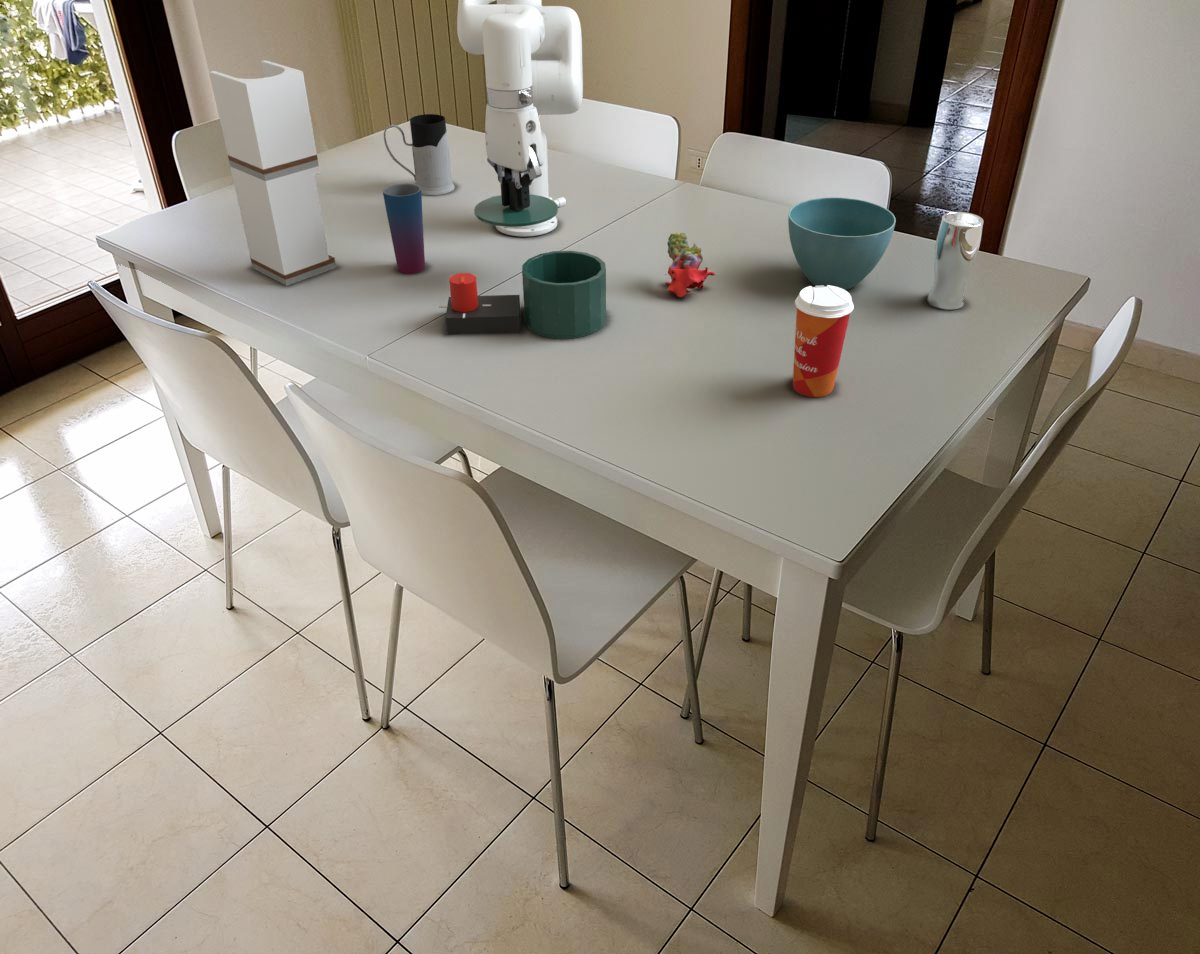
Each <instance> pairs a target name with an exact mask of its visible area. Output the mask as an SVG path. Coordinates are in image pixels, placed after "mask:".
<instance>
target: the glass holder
mask: <svg viewBox="0 0 1200 954" xmlns="http://www.w3.org/2000/svg"><path fill="white" fill-rule="evenodd" d="M409 125H410V126H409V127H410V134H411V143H407V141H406V137H405V133H404V131H403V129H402V128H401V127H400V126H398V125H396V124H390V125H388V126H386V128H385V129H384V131H383V141H384V145H385V148H386V151H387V152H388V155H389V156H390V157H391V159H392V160H393V161H394V162H395V163H396V164H397V165H398V166H400V167H401V168H402V169H404V170H405V171H406V172H408V173H409V174H410V175H411V176H412V177H413V178H414V182H415V184H416V185H419V186H420V187H421V195H422V196H423V195H424V196H440V195H446V194H449V193H451V192H453V191H454V190H455V184H454V183H453V177H452V167H451V158H450V146H449V136H448V135H449V134H448V129H447V123H446V117H445V116H444V115H441V114H434V113H425V114H424V113H423V114H419V115H414V116H412V117H411V118H410V119H409ZM390 128H396V129H397V130H398V131H399V132H400V133H401V137H402V141H403V144H404V145H405V146H408V147H411V150H412V151H411V152H412V159H413V167H414V168H413V169H414V172H413V171H411V169H409V168H408V167H406V166H405V165H404V164H403V163H401V162H400V160H398V159H397V158H395V156H394V155H393V153H392V151H391V150H390V147H389V145H388V143H387V138H386V135H387V134H386V133H387V130H388V129H390Z"/></svg>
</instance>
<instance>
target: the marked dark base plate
mask: <svg viewBox="0 0 1200 954" xmlns="http://www.w3.org/2000/svg"><path fill="white" fill-rule="evenodd" d="M438 308H439V309H440V308H441V309H443V308H446V312H445V327H446V334H447V335H467V334H468V335H470V334H471V335H472V334H473V335H474V334H501V333H502V334H503V333H506V334H507V333H520V332H521V313H522V312H521V311H522V310H521V295H520V294H498V295H497V294H496V295H495V294H494V295H493V294H492V295H478V308H477V309H475V310H473V311H469V312H458V311H455V310H454V309H453V308H452V303H451V296H448V300H447V305H439V306H438Z"/></svg>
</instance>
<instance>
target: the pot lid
mask: <svg viewBox="0 0 1200 954" xmlns="http://www.w3.org/2000/svg"><path fill="white" fill-rule="evenodd" d="M515 187H516V186H515V178H509V179H508V195H509V205H508V206H503V205H502V196H501V194H499V195H496V196H492V197H489V198H485V199H483V200H481V201H479V202H478V203H477V204H476V205H475V206H474V209H473V210H474V211H473V212H474V216H475V218H476V219H478V220H479V221H481V222H483V223H485V224H487V225H492V226H495V225H497V226H507V227H519V226H529V225H535V224H539V223H543V222H545V221H548V220H550V219H552V218H553V217H554V216H556V217H557V215H558V213H559V208H558V205H557V204H556V203H555V202H554V201H553V200H554V199H552V200H551V199H549V198H546V197H543V196H538V195H532V194H530V206H529V207H528V208H525V209H522V210H519V211H516V210H515V209H514V197H513V188H515Z"/></svg>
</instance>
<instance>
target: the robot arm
mask: <svg viewBox="0 0 1200 954" xmlns="http://www.w3.org/2000/svg"><path fill="white" fill-rule="evenodd" d="M457 1H458V2H457V17H456V18H457V19H456V30H457V31H456V33H457V39H458V42H459V44H460V46H461V48H462V50H464V51H465V52H467V53H468V54H471V55H483V60H484V73H485V87H486V101H487V103H486V107H485V123H484V131H485V134H484V135H485V136H484V137H485V139H484V140H485V150H486V151H485V152H486V156H487V158H486V160H487V161H486V162H487V163H488V164H489V165H490V166H491V167H492V168H494V171H495V173H496V175H497V181H498V182H499V186H500V195H501V196H502V205H503V206H508V205H509V195H508V179H509V178H515V186H516V187H515V188H513V197H514V209H515V210H516V211H519V210H522V209H525V208H528V207H529V206H530V194H532V195H538V196H543V197H546V198H549V199H551V200H553V201H554V202H555V203H556V204H557V205H558V209H560V208H563V207H565V206H566V205H567V200H566V198H565V197H564V196H560V197H558V198H554V199H553V197H551V196H550V194H549V193H550V190H549V189H550V188H549V165H548V164H549V163H548V161H549V160H548V140H547V139H548V138H547V136H546V133H545V131H544V129H543V127H542V126H541V122H540V117H539V116H545V115H546V116H553V115H554V116H557V115H558V116H560V115H561V116H562V115H572V114H575V113H576V112H578V111H579V110H580V108H581V106H582V103H583V97H584V73H583V72H584V71H583V37H582V25H581V21H580V18H579V15H578V13H577V12H576V11H575V9H573V8H571V7H569V6H563V5H543V3H542V2H543V1H542V0H457ZM493 2H496V4H491V3H493ZM557 226H558V217H557V215H556V216H554V217H553V218H552V219H550V220H548V221H545V222H543V223H539V224H535V225H529V226H519V227H507V226H497V225H494V227H495V229H496V230H497V231H498V232H500V233H502V234H505V235H507V236H513V237H536V236H541V235H545V234H548V233H550V232H552V231H554V230H555V229H556V228H557Z"/></svg>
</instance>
